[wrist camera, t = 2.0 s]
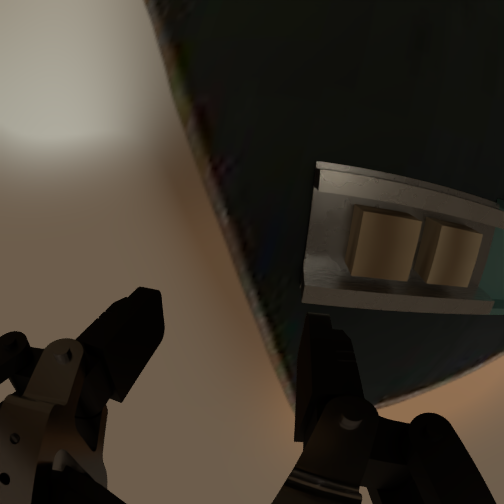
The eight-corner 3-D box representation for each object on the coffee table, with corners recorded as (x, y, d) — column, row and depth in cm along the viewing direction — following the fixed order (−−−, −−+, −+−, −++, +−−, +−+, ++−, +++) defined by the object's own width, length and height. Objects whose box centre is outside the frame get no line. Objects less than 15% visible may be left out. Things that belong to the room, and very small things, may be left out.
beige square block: (407, 212, 21) (422, 221, 18) (395, 267, 22) (407, 281, 19) (354, 203, 21) (363, 211, 18) (344, 261, 23) (350, 275, 20)
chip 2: (466, 225, 20) (483, 234, 17) (453, 273, 22) (467, 287, 19) (426, 216, 20) (442, 225, 18) (413, 269, 22) (426, 283, 19)
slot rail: (494, 202, 19) (520, 212, 15) (468, 298, 23) (487, 318, 19) (315, 160, 21) (321, 162, 17) (299, 282, 25) (300, 308, 21)
